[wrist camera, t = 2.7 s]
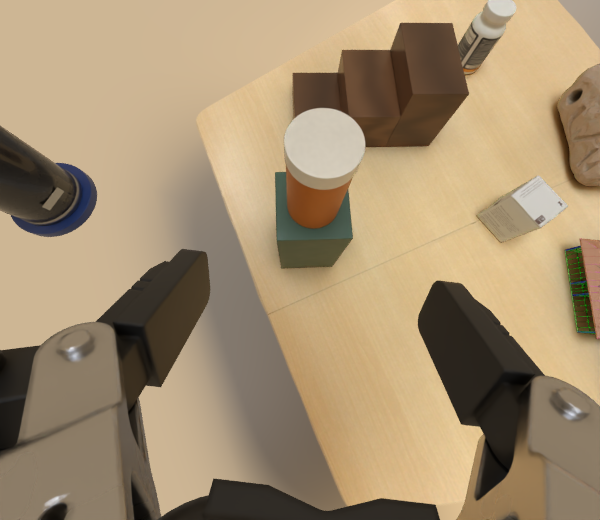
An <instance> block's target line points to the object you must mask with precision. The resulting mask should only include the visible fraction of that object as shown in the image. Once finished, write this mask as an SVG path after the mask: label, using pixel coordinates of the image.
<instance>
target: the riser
mask: <svg viewBox="0 0 600 520" xmlns="http://www.w3.org/2000/svg"><path fill="white" fill-rule="evenodd" d="M468 95H469V92H468V88H467V83H466V79H465V75H464V71H463V66H462V62H461V58H460V54H459V49H458V45H457V41H456V37H455V33H454V28H453V24H452V23H400V25H399V28H398V31H397V34H396V36H395V39H394V42H393V45H392V47H391V50H342V53H341V59H340V64H339V69H338V73H293V109H294V118H296V117H297V116H298V115H300V114H301V113H303V112H305V111H308V110H311V109H316V108H330V109H335V110H338V111H341V112H343V113H345V114H347V115H348V116H350V117H351V118H352V119H353V120H354V121H355V122H356V123H357V124H358V125H359V127H360V128H361V130H362V132H363V135H364V138H365V147H395V146H429V145H430V143H431V142H432V141H433V140H434V138H435V137H436V136H437V134H438V133H439V132H440V131H441V129H442V128H443V127H444V125H445V124H446V123H447V122H448V120H449V119H450V118H451V116H452V115H453V114H454V113H455V111H456V110H457V109H458V108H459V106H460V105H461V104H462V102H463V101H464V100H465V99H466V97H467V96H468Z"/></svg>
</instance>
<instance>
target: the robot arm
mask: <svg viewBox="0 0 600 520" xmlns="http://www.w3.org/2000/svg"><path fill="white" fill-rule="evenodd" d="M81 198H82V187H81V184H80V182H79V180H78V179H77V178H76V177H75V176H74V175H73V174H71V173H70V172H68V171H67V170H65V169H63V168H61V167H60V166H58V165H57V164H55V163H54V162H52V161H51V160H50V159H48V158H47V157H45V156H44V155H42V154H41V153H39V152H38V151H36V150H35V149H34V148H32V147H31V146H29V145H28V144H26V143H25V142H23V141H22V140H20V139H19V138H18V137H16V136H14V135H13V134H12V133H10V132H9V131H7V130H6V129H4V128H3V127H1V126H0V211H3V212H5V213H7V214H10V215H13V216H15V217H18V218H20V219H22V220H24V221H26V222H29V223H31V224H34V225H39V226H48V225H53V224H57V223H59V222H61V221H63V220H65V219H66V218H68V217H69V216H70V215H71V214H72V213H73V212H74V211H75V210H76V209H77V207H78V206H79V204H80V201H81ZM209 296H210V280H209V269H208V259H207V254H206V252H203V251H195V250H186V249H182V250H180V251H179V252H178V253H177V254H176V255H175V256H174V258H173V259H172V260H171V261H170V262H166V261H164V262H163V263H160V264H158V265H157V266H155V267H153V268H151V269H149V270H148V271H147V272H146V273H145V274H144V275H143V276H142V277H141V278H140V281H137V282H136V283H135V284H134V285H133V286H132V288H131V289H129V290H128V291H127V292H126V293H125V294H124V295H123V296H122V297H121V298H120V299H119V300H118V301H117V302H116V303H114V305H112V306H111V307H110V309H108V310H107V311H106V312H105V313H104V314H103V315H102V316H101V317H100V318H99V319H98V320H97V321H96V322H89V323H82V324H77V325H74V326H71V327H69V328H66V329H64V330H62V331H60V332H58V333H57V334H55V335H53V336H51V337H50V338H49V339H47V340H46V341H45V342H44V343H43V344H42V345H40V346H33V347H25V348H17V349H9V350H0V520H440V519H439V515H438V512H437V508H436V505H432V504H424V503H416V502H407V501H399V500H390V499H382V498H381V499H377V500H373V501H369V502H365V503H361V504H356V505H352V506H348V507H344V508H340V509H337V510H333V511H322V510H319V509H317V508H315V507H313V506H311V505H309V504H307V503H305V502H302V501H301V500H298V499H296V498H294V497H292V496H290V495H288V494H286V493H283V492H282V491H279V490H277V489H275V488H273V487H271V486H269V485H263V484H254V483H246V482H238V481H229V480H221V479H213V482H212V486H211V489H210V493H209V495H208V496H204V497H200V498H197V499H195V500H192V501H189V502H187V503H184V504H183V505H181V506H179V507H177V508H175V509H173V510H171V511H169V512H168V513H166V514H165V515H164V516H162V517H161V514H160V509H159V503H158V498H157V493H156V489H155V485H154V481H153V477H152V473H151V469H150V463H149V458H148V451H147V446H146V438H145V433H144V426H143V420H142V413H141V407H140V401H139V398H138V397H139V395H140V394H141V392H142V390H143V389H144V387H145V386H146V385H147V386H156V387H161V386H162V384H163V382H164V380H165V379H166V377H167V375H168V373H169V371H170V370H171V368H172V366H173V364H174V362H175V361H176V359H177V357H178V355H179V354H180V352H181V350H182V348H183V346H184V345H185V343H186V341H187V339H188V337H189V336H190V334H191V332H192V330H193V328H194V327H195V325H196V323H197V321H198V319H199V318H200V316H201V314H202V312H203V310H204V309H205V307H206V305H207V303H208V300H209ZM418 328H419V331H420V334H421V336H422V338H423V340H424V343H425V345H426V347H427V349H428V352H429V354H430V356H431V358H432V360H433V363H434V365H435V367H436V369H437V371H438V374H439V376H440V378H441V380H442V383H443V385H444V387H445V389H446V391H447V394H448V396H449V398H450V400H451V403H452V405H453V407H454V409H455V411H456V414H457V416H458V418H459V420H460V423H461V424H462V425H471V426H479V427H481V429H482V431H483V433H484V434H483V435H482V436H481V437H480V439H479V441H478V444H477V449H476V453H475V458H474V462H473V467H472V471H471V476H470V481H469V485H468V490H467V494H466V499H465V502H464V506H463V508H462V510H461V513H460V514H459V516H458V518H457V519H456V520H600V406H599V405H598V404H597V403H596V402H595V401H594V400H592V399H591V398H590V397H589V396H587V395H586V394H585V393H583V392H582V391H580V390H579V389H577V388H576V387H574V386H572V385H570V384H568V383H566V382H564V381H562V380H559V379H557V378H553V377H549V376H545V375H544V374H543V373H542V372H541V370H540V369H539V368H538V367H537V366H536V364H535V363H534V362H533V361H532V360H531V358H530V357H529V356H528V355H527V354H526V353H525V351H524V350H523V349H522V348H521V347H520V345H519V344H518V343H517V342H516V341H515V339H514V338H513V337H512V336H509V332H508V331H507V330H506V329H505V328H504V326H503V325H500V322H499V320H498V319H497V318H496V317H495V316H494V314H493V313H492V312H491V311H490V310H489V309H487V308H486V307H485V306H483V305H482V304H481V303H479V302H478V301H477V300H475V299H474V298H473V296H472V295H471V294H470V293H469V292H468V290H467V289H466V288H465V287H464V285H462V284H460V283H454V282H445V281H436V282H435V283H434V284H433V285H432V287H431V289H430V291H429V294H428V296H427V298H426V300H425V302H424V305H423V307H422V309H421V311H420V314H419V317H418Z"/></svg>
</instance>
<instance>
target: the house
mask: <svg viewBox="0 0 600 520" xmlns="http://www.w3.org/2000/svg"><path fill="white" fill-rule="evenodd" d="M580 244H581V246H578V247H574V248H570V249H566V250H565V255H566V251H572V250H575V248H576V250H575V251H573V252H577V253H579V252H582V257H583V262H584V268H585V274H586V277H582V278H586V280H587V281H582V278H581V273H584V272H581V270H580V278H581V282H574V283H571V281H570V280H573V279H570V275H572V274H569V270H572V269H569V268H568V262H567V255H566V262H567V268H568V275H569V281H570V288H571V284H574V285H582V288H583V285H584V286H588V287H584V288H588V290H584V288H583V294H574V295H573V294H572V288H571V295H572V301H573V296H579V297H584V302H585V297H589V298H590V304H591V310H592V316H588V315H587V316H576V314H575V312H578V311H575V307H574V301H573V308H574V314H575V321H576V327H577V320H576V317H587V318H588V317H593V321H594V327H589V319H588V327H577V332H580V333H590V334H596V338H597V339H600V241H599V240H590V239H580ZM579 248H581V249H579ZM571 249H572V250H571ZM577 249H579V250H582V251H578V250H577ZM573 254H575V253H573ZM569 255H571V254H569ZM577 258H578V265H579V263H581V262H579V258H580V257H578V254H577ZM573 259H576V258H573ZM569 260H571V259H569ZM574 264H576V263H574ZM569 265H571V264H569ZM580 268H582V267H580V266H579V269H580ZM574 269H577V268H574ZM575 274H578V273H575ZM576 279H579V278H576ZM578 283H579V284H578ZM585 283H587V285H586V284H585ZM576 289H580V288H576ZM584 291H588V292H589V293H584ZM575 292H579V291H575ZM583 295H584V296H583ZM577 301H583V300H577ZM582 306H586V314H587V306H590V305H586V302H585V305H582ZM578 328H589V331H578ZM590 328H595V332H592V331H590Z"/></svg>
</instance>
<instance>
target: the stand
mask: <svg viewBox="0 0 600 520" xmlns="http://www.w3.org/2000/svg"><path fill="white" fill-rule="evenodd" d="M275 187H276V231H277V245H278V251H279V257H280V263H281V268H304V267H332V266H333V265H334V263H335V262H336V260H337V259H338V258H339V256H340V255H341V254H342V252H343V251H344V250H345V248H346V247H347V245H348V244H349V243H350V241H351V240H352V239H353V235H352V225H351V214H350V203H349V193H348V190H347V192H346V194H345V197H344V199H343V201H342V204H341V206H340V208H339V211H338V213H337V215H336V217H335V219H334V220H333V221H332V222H331V223H329V224H328V225H326V226H324V227H321V228H315V229H313V228H306V227H303V226H301V225H299V224H298V223H296V222H295V221H294V220H293V219H292V217H291V216H290V214H289V212H288V208H287V183H286V172H275Z"/></svg>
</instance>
